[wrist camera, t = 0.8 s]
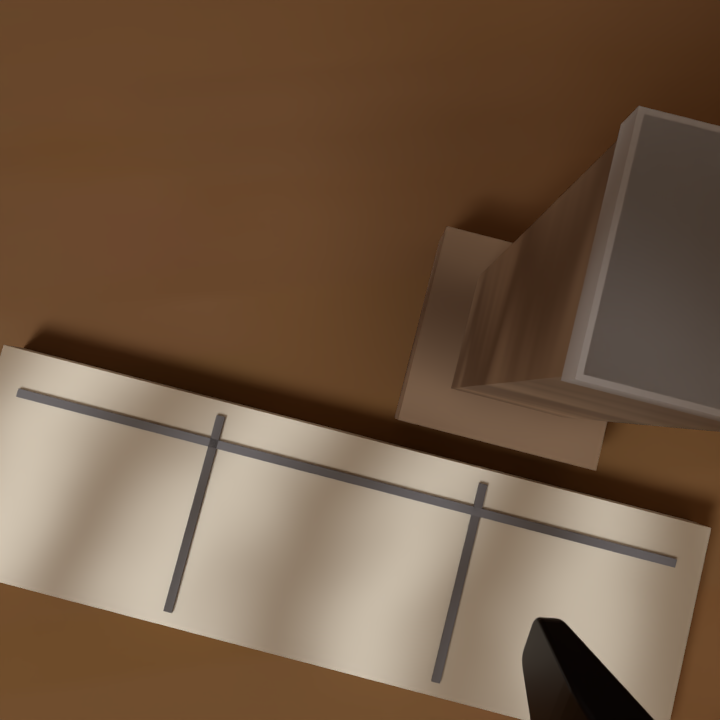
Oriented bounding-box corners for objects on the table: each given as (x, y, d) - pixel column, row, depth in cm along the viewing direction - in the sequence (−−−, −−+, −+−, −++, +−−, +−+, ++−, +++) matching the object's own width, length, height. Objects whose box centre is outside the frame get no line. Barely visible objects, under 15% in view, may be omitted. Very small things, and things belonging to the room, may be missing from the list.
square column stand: (574, 464, 22) (936, 573, 8) (394, 417, 22) (457, 449, 8) (615, 286, 23) (1024, 109, 9) (439, 241, 23) (568, -5, 9)
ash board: (692, 520, 22) (712, 528, 21) (645, 736, 22) (663, 757, 20) (22, 348, 22) (1, 344, 21) (-40, 556, 22) (-65, 566, 21)
